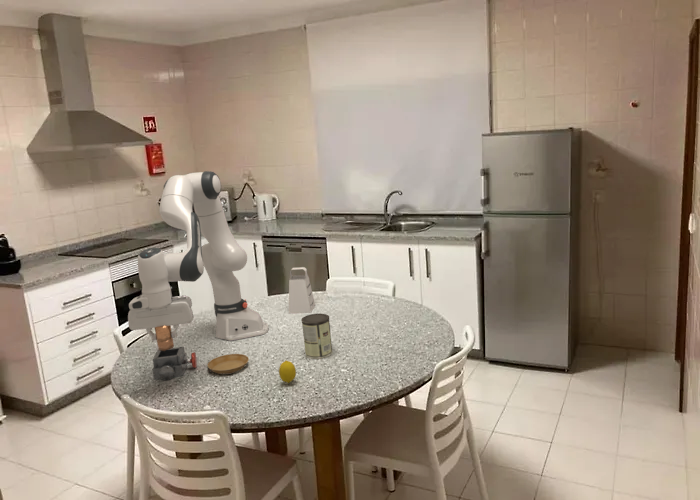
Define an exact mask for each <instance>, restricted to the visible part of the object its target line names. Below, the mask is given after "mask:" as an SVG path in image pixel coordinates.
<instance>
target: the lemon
mask: <svg viewBox="0 0 700 500" xmlns="http://www.w3.org/2000/svg"><path fill="white" fill-rule="evenodd" d="M278 375H279V378H280V380H281V381H283V382H284V383H287V384H290V383H291V382H293V381H294V380H295V378H296V376H297V370H296V365H295V364H294V362H291V361H289V360H285V361H282V363H281V364H280V365H279V369H278Z"/></svg>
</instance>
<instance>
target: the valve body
mask: <svg viewBox="0 0 700 500" xmlns="http://www.w3.org/2000/svg"><path fill="white" fill-rule="evenodd" d="M152 364H153V367H152V374H153V380H163V381H169V380H172V379H173V378H176V377H177V378H178V377H184V375H185V371H186V368H187V366H188V364H189V365H190V364H191V367H192V368H193V369H196V368H197V366H198V361H197V354H196V352H191V354H190V358H188V355H187V352H185V347H184V346H177V347H173V348H171V349H169V350H164V351H161V350H158V349H157V351H156V353H155V354H154V357H152Z"/></svg>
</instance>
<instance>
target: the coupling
mask: <svg viewBox="0 0 700 500" xmlns="http://www.w3.org/2000/svg"><path fill="white" fill-rule="evenodd" d="M154 331H155V333H154V334H156V339H157V340H156V345H157V350H161V351H164V350H169V349H171V348H175V347H174V346H175V345H174V338H172V335H171V333H172V332H173V331H172V325H171V326H161V327H155V328H154Z"/></svg>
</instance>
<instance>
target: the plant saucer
mask: <svg viewBox="0 0 700 500" xmlns="http://www.w3.org/2000/svg"><path fill="white" fill-rule="evenodd" d="M249 360H250V359H249V356H247V355H245V354H243V353H229V354H224V355H223V354H222V355H220V356H216V357H215V358H213V359H211V360H209V362H207V365H206V366H207V368H208V369H209V370H210V371H212V372H214V373H215V374H218V375H230V374H233V373H237V372H239V371H241V370H243V368H244V367H245V366H246V365H247V363H248V362H249Z"/></svg>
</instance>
